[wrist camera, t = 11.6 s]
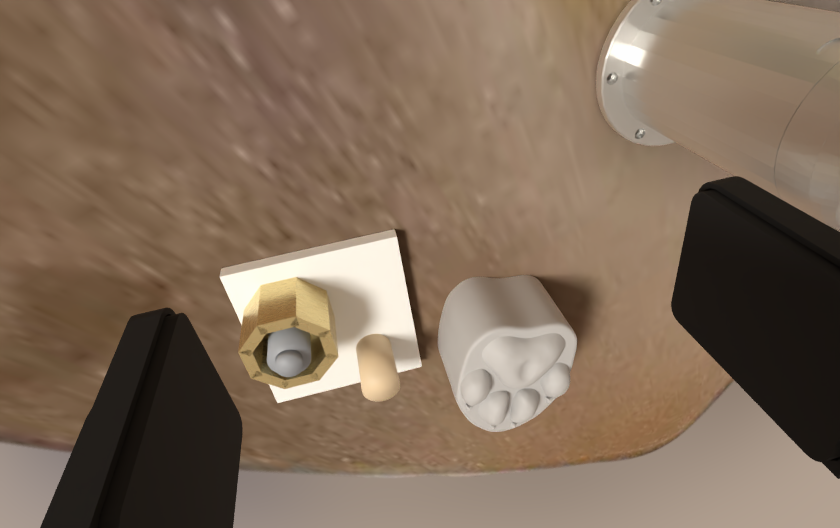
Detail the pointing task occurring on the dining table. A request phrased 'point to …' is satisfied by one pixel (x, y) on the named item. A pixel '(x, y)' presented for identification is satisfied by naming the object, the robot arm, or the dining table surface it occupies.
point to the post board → (340, 314)
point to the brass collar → (284, 310)
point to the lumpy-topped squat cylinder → (505, 350)
